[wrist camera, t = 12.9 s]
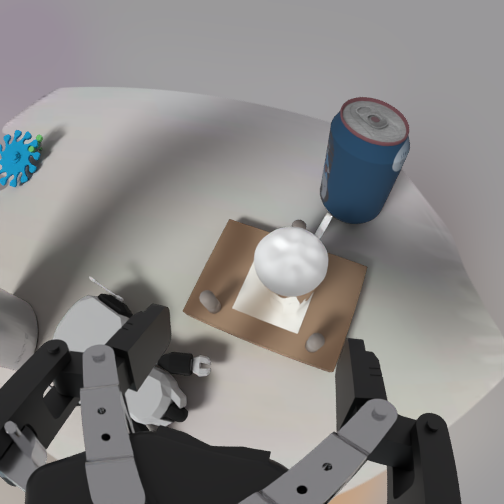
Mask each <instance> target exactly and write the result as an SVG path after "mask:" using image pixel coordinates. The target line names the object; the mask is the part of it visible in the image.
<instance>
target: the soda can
mask: <svg viewBox="0 0 504 504" xmlns="http://www.w3.org/2000/svg"><path fill="white" fill-rule="evenodd" d="M408 134H409V125H408V122H407V120H406V118H405V117H404V116H403V114H402V113H400V112H399V111H398V110H397V109H395V108H394V107H392V106H391V105H389V104H387V103H385V102H383V101H380V100H377V99H373V98H367V97H359V98H354V99H350V100H348V101H347V102H345V103H344V104H343V106H342V108H341V111H340V112H339V113H338V114H337V115H336V116H335V117H334V119H333V120H332V122H331V128H330V134H329V140H328V147H327V153H326V159H325V164H324V170H323V176H322V181H321V187H320V196H321V200H322V202H323V204H324V206H325V207H326V209H327V210H328V211H329V212H330V213H331V214H332V215H333V216H334V217H335V218H337V219H338V220H340V221H342V222H345V223H350V224H360V223H365V222H368V221H370V220H372V219H374V218H375V217H376V216H377V215H378V214H379V213H380V211H381V209H382V207H383V205H384V203H385V201H386V199H387V197H388V195H389V193H390V191H391V189H392V187H393V185H394V183H395V181H396V179H397V177H398V175H399V173H400V170H401V168H402V166H403V164H404V162H405V159H406V157H407V155H408V153H409V149H410V142H409V137H408Z"/></svg>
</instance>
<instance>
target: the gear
mask: <svg viewBox="0 0 504 504" xmlns="http://www.w3.org/2000/svg"><path fill="white" fill-rule="evenodd" d="M21 134H22V132H21V131H19V130H16V131H15V133H14V140H13V141H12V143H11V144H10V145H9V141H10V139H11V136H10V135H9V134H8V135H6V136H4V141H5V143H6V148H5V151H3V152H2V145H0V154H1V156H2V159H1V160H0V164H1V165H2V169H1V170H0V174H1V173H3V172H7V176H6V177H4V178H1V179H0V183H1V184H2V185H5V184H6V183H7V180H8V178H9V177H10V176H12V175H14V179H13V180H12V181H11V182H10V186H12V187H16V186H17V177H18V175H19V173H20V172H22V173H23V175H22V177H21V182H22V183H24V182H27V181H28V177H27V176H26V173H25V169H26V166H27V165H29V171H30V172H31V173H34V172H35V171H36V169H37V167H36V166H34V165H32V164H31V163H30V161H29V157H30V156H33V158H34V159H35V160H39V158H40V153H39V152H36V151H38V150H39V151H40V150H41V149H42V147H41V141H42V140H43V137H42V136H41V135H37V137H36V139H37V140H33V141H32V142H31V143H29V144H24V141H25V140H29V139H31V137H32V135H31V134H30V133H29V132H26V133H25V135H24V137H23V138H22V139H21V140H20V141H19V142H17V139H18V138H19V137H20V136H21Z"/></svg>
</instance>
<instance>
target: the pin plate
mask: <svg viewBox="0 0 504 504" xmlns="http://www.w3.org/2000/svg"><path fill="white" fill-rule="evenodd" d="M292 227H300V228H303V229H306V224H305V222H304V221H302V220H296V221H294V222H293V224H292ZM269 233H270V232H267V231H264V230H261V229H258V228H255V227H252V226H249V225H246V224H243V223H240V222H237V221H234V220H231V219H229V221H228V223H227V225H226V227H225V228H224V230H223V232H222V234H221V236H220V238H219V240H218V242H217V244H216V246H215V248H214V250H213V252H212V254H211V255H210V257H209V259H208V261H207V263H206V265H205V267H204V269H203V271H202V273H201V275H200V277H199V279H198V281H197V283H196V285H195V287H194V289H193V291H192V293H191V295H190V297H189V299H188V301H187V303H186V305H185V307H184V309H183V312H184V313H186V314H187V315H189V316H191V317H193V318H195V319H197V320H199V321H202V322H204V323H206V324H208V325H211V326H213V327H215V328H217V329H220V330H222V331H224V332H227V333H229V334H231V335H234V336H236V337H238V338H241V339H243V340H246V341H248V342H250V343H253V344H255V345H258V346H260V347H263V348H265V349H268V350H270V351H273V352H276V353H278V354H281V355H283V356H286V357H289V358H291V359H294V360H297V361H299V362H302V363H305V364H308V365H310V366H313V367H316V368H319V369H322V370H325V371H328V372H333V371H334V369H335V366H336V363H337V361H338V358H339V355H340V352H341V350H342V347H343V344H344V341H345V338H346V335H347V332H348V329H349V327H350V323H351V320H352V317H353V314H354V311H355V308H356V305H357V301H358V298H359V295H360V291H361V288H362V285H363V281H364V278H365V274H366V270H367V266H364V265H361V264H358V263H355V262H353V261H350V260H347V259H344V258H342V257H339V256H336V255H333V254H330V253H328V268H327V273H326V276H325V278H324V279H323V281H322V282H321V283H320V284H319V286H318V287H317V288H316V289H315V290H314V292H313V293H312V295H311V296H310V298H309V299H308V300H307V302H306V303H305V305H304V306H303V307H302V308H301V309H299V310H298V311H297V312H296V313H292V314H282V313H280V312H278V311H276V310H274V309H273V308H272V306H271V303H270V301H269V299H268V296H267V294H266V291H265V289H264V287H263V285H262V284H261V282H260V280H259V278H258V276H257V273H256V270H255V264H254V254H255V250H256V248H257V246H258V244H259V242H260V241H261V240H262V239H263V238H264V237H265V236H267V235H268V234H269Z"/></svg>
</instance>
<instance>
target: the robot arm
mask: <svg viewBox="0 0 504 504" xmlns="http://www.w3.org/2000/svg"><path fill="white" fill-rule="evenodd" d="M37 337H38V327H37V320H36V315H35V313H34V310H33V309H32V307H31V306H30V304H29V303H27V302H26V301H24V300H22V299H20V298H18V297H16V296H14V295H12V294H10V293H8V292H6V291H5V290H3V289H1V288H0V367H4V368H8V369H13V370H18V371H17V372H16V373H15V374H14V375H13V376H12V377H11V378H10V379H9V380H8V381H7V382H6V383H5V384H4V385H3V386H2V388H1V389H0V477H1V478H2V479H3V480H4V481H6V482H7V483H8V484H9V485H12V486H17V487H19V488H20V489H22V490H23V491H24V492H25V504H328V503H329V502H330V501H331V500H332V499H333V498H334V497H335V496H336V495H337V494H338V493H339V491H340V490H341V489H342V488H343V487H344V486H345V485H346V484H347V483H348V482H349V481H350V480H351V479H352V477H353V476H354V475H355V474H356V473H357V472H358V471H359V470H360V468H361V467H362V466H363V465H364V464H365V463H366V461H367V460H369V461H372V462H376V463H379V464H383V465H387V504H461V497H460V490H459V483H458V477H457V471H456V465H455V460H454V455H453V450H452V446H451V441H450V437H449V432H448V428H447V424H446V422H445V421H444V419H442V418H441V417H440V416H438V415H436V414H433V413H425V414H423V415H421V416H420V417H419V418H418V419H417V420H414V419H411V418H407V417H403V416H401V415H399V414H397V410H396V408H395V407H394V406H393V405H392V404H391V403H390V402H388V401H387V396H386V391H385V386H384V382H383V377H382V372H381V370H380V364H379V360H378V358H377V357H376V356H375V354H374V353H373V352H369V351H365V345H364V341H363V340H362V339H353V338H346V339H345V342H344V345H343V348H342V351H341V354H340V357H339V360H338V364H337V367H336V374H335V382H336V419H337V433H336V432H333V433H331V434H330V435H329V436H328V437H327V438H326V439H324V440H323V441H322V442H321V443H320V444H319V445H318V446H317V447H316V448H315V449H313V450H312V451H311V452H310V453H309V454H308V455H306V456H305V457H304V458H303V459H302V460H301V461H299V462H298V463H297V464H296V465H294V466H293V467H292V468H291V469H290V470H289V469H288V468H286V467H285V466H283V465H282V464H280V463H278V462H276V461H274V460H271V459H269V458H270V453H271V452H270V451H264V450H258V449H252V448H247V447H225V446H210V445H208V444H206V443H204V442H202V441H200V440H198V439H196V438H194V437H192V436H191V435H189V434H187V433H185V432H181V431H178V430H175V429H171V428H168V427H165V426H162V425H160V426H159V428H158V430H157V431H143V432H136V433H135V431H134V428H133V424H132V420H131V416H130V412H129V408H128V403H127V399H126V395H125V393H126V391H127V390H128V389H130V390H133V391H136V392H138V390H139V389H140V387H141V386H142V384H143V383H144V381H145V380H146V378H147V377H148V375H149V374H150V372H151V371H152V369H153V368H154V366H155V365H156V363H157V362H158V360H159V359H160V357H161V356H162V355H163V353H164V352H165V350H166V349H167V347H168V346H169V343H170V340H171V325H170V312H169V308H168V307H166V306H161V305H157V304H151V305H150V306H149V307H148V308H147V310H146V311H145V312H142V311H141V312H139V313H137V314H135V315H133V316H131V317H130V318H129V319H128V320H127V321H126V323H125V324H124V325H123V326H122V327H121V328H120V329H119V330H118V331H117V332H116V333H115V334H114V335H113V336H112V337H111V338H110V339H109V340H108V341H107V343H106V344H105V345H102V344H98V345H93V346H91V347H89V348H87V349H86V350H85V351H84V352H76V351H69V348H68V345H67V343H66V342H65V341H63V340H59V339H54V340H50V341H48V342H46V343H44V344H43V345H42V346H41V347H40V348H39V349H38V350H37V351H36V352H35V348H36V344H37ZM34 352H35V353H34ZM52 382H53V383H54V386H53V387H52V388H51V389H50V391H49V392H48V393H47V394H46V395H45V397H44V398H43V394H44V392H45V390H46V389H47V388H48V386H49V385H50V384H51V383H52ZM79 401H81V415H82V426H83V435H84V443H85V452H82V453H79V454H76V455H73V456H70V457H67V458H64V459H61V460H58V461H55V462H51V463H48V464H46V460H47V452H46V449H47V448H48V446H49V445H50V443H51V442H52V440H53V439H54V437H55V436H56V434H57V433H58V431H59V430H60V428H61V427H62V425H63V424H64V423H65V421H66V420H67V418H68V417H69V415H70V414H71V413H72V411H73V410H74V408H75V407H76V405H77V404H78V403H79Z"/></svg>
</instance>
